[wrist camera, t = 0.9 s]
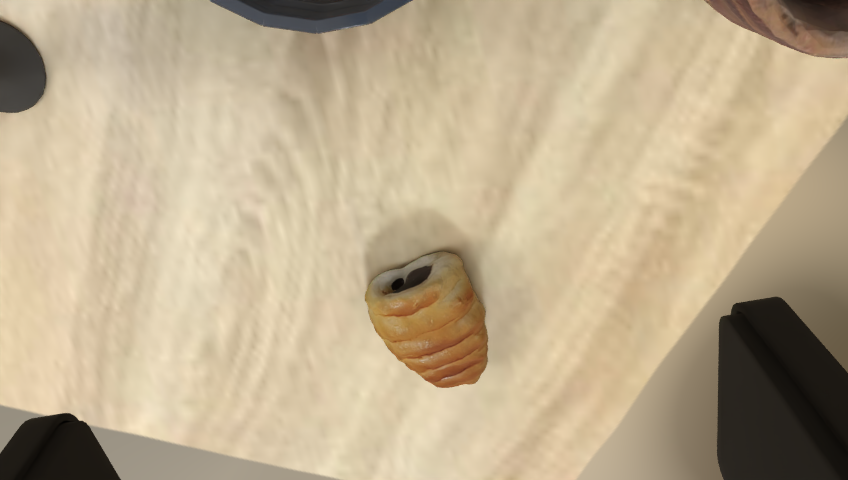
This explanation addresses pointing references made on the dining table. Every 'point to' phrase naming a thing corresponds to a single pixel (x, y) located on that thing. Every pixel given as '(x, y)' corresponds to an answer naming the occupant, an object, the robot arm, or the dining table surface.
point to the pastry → (431, 319)
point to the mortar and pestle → (793, 23)
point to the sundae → (19, 71)
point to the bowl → (312, 13)
